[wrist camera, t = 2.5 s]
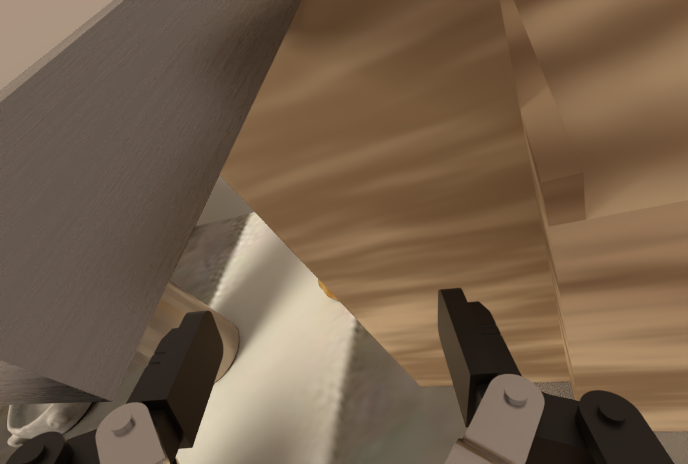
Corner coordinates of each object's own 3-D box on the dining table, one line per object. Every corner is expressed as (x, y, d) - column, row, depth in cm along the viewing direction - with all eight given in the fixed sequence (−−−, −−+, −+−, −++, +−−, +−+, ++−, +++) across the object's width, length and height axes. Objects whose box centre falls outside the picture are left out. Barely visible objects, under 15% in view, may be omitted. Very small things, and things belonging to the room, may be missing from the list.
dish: (67, 357, 66) (39, 345, 62) (123, 343, 61) (95, 329, 57) (17, 453, 56) (-19, 445, 53) (79, 445, 51) (43, 435, 48)
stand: (748, 432, 24) (1786, -692, 3) (421, 428, 33) (83, 149, 12) (637, 208, 36) (680, -329, 15) (419, 250, 45) (251, -49, 24)
